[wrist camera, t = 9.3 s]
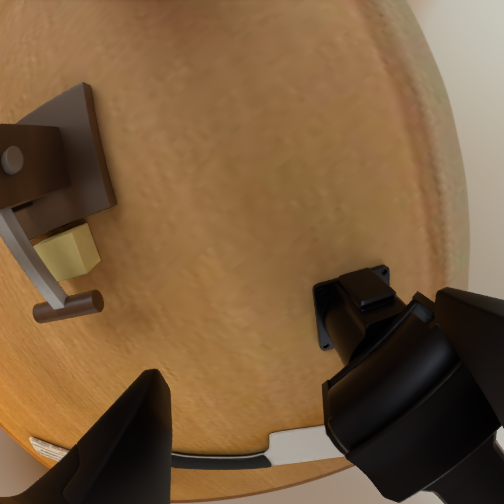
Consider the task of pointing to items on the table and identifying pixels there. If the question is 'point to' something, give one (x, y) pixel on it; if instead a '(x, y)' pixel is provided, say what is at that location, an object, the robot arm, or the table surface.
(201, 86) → the table surface
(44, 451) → the newspaper
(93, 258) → the butter
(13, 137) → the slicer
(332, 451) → the kitchen cleaver
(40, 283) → the lever handle
